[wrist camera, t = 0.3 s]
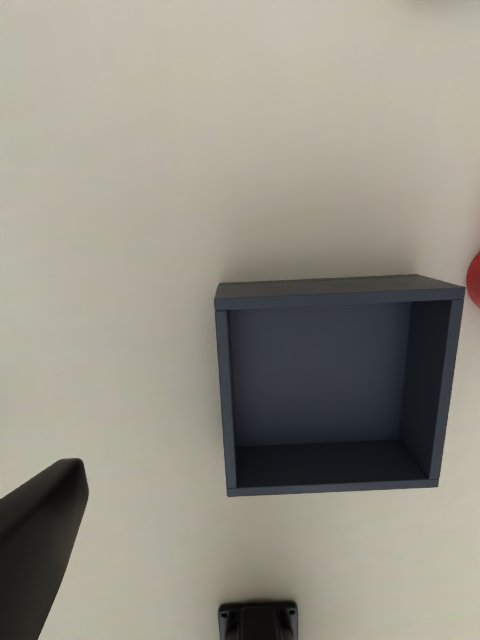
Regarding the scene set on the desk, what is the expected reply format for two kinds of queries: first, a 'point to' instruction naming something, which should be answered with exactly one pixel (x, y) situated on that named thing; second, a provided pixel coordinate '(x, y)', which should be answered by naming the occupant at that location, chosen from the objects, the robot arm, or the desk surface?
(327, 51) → the desk surface
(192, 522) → the desk surface
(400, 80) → the desk surface
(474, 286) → the candy tube
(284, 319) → the desk bin
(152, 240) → the desk surface
